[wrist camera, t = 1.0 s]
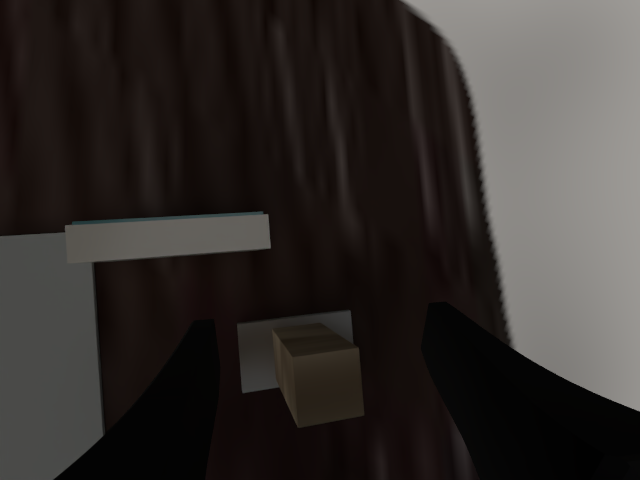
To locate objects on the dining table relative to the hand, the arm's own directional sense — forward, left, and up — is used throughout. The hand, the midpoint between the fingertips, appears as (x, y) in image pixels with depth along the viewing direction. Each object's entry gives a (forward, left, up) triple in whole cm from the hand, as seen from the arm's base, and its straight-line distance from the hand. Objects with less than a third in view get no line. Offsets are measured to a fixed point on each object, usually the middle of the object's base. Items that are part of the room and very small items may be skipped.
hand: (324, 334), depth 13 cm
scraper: (-3, -1, -12) cm, 12 cm away
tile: (+4, +5, -12) cm, 13 cm away
